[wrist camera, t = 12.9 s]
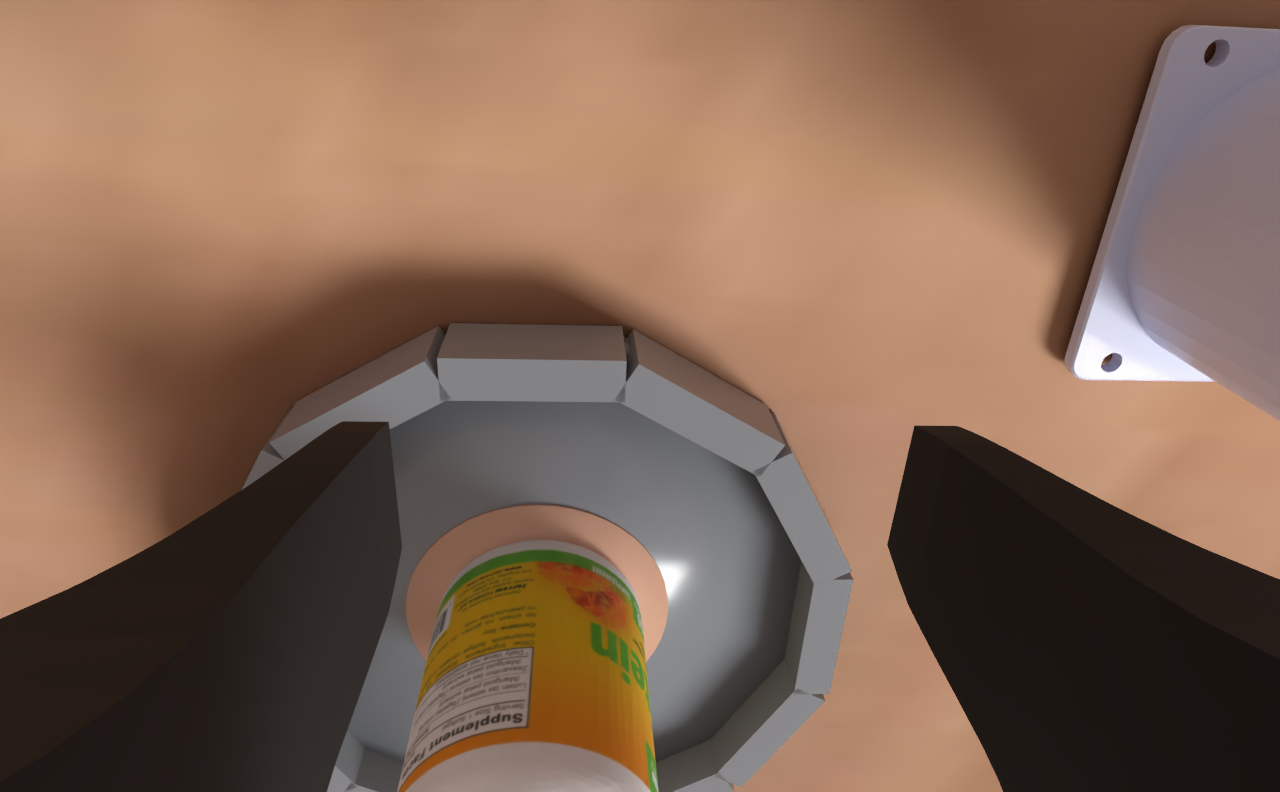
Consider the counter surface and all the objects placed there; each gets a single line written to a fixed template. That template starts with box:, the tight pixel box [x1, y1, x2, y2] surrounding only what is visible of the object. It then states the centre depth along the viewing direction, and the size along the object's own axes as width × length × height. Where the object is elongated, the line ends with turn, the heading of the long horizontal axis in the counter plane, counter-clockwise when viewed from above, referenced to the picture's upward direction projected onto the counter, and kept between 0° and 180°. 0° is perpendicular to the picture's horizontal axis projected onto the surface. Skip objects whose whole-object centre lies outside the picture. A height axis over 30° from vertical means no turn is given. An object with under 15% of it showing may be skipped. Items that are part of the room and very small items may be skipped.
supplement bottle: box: [397, 540, 659, 792], centre depth 17 cm, size 5×5×10 cm
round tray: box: [242, 323, 853, 792], centre depth 22 cm, size 16×16×2 cm
